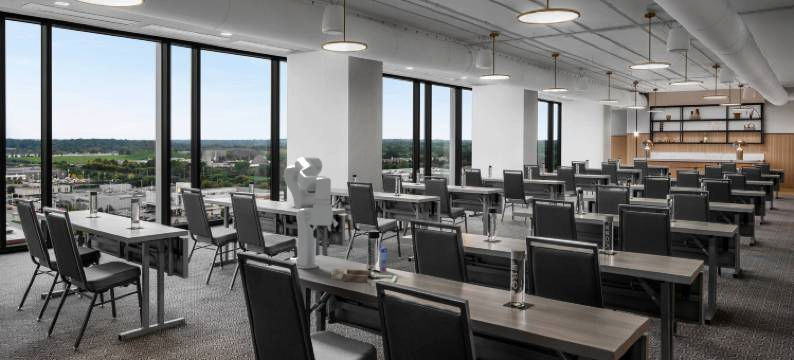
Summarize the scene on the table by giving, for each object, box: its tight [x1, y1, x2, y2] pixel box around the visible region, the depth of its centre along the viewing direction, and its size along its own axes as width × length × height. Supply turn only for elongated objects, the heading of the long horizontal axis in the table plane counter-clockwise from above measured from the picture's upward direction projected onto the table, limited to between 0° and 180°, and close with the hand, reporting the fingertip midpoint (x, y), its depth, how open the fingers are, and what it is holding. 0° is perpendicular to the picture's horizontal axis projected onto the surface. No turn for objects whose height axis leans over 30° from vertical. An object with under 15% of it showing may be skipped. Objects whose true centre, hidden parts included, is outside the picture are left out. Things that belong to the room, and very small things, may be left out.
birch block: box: [330, 268, 344, 280], centre depth 289 cm, size 5×5×4 cm
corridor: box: [342, 268, 372, 283], centre depth 288 cm, size 12×12×3 cm
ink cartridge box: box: [365, 242, 388, 272], centre depth 307 cm, size 10×6×14 cm, turn 54°
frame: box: [372, 274, 398, 284], centre depth 287 cm, size 10×12×1 cm
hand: (322, 237), depth 288 cm, fingers open, 6 cm apart
